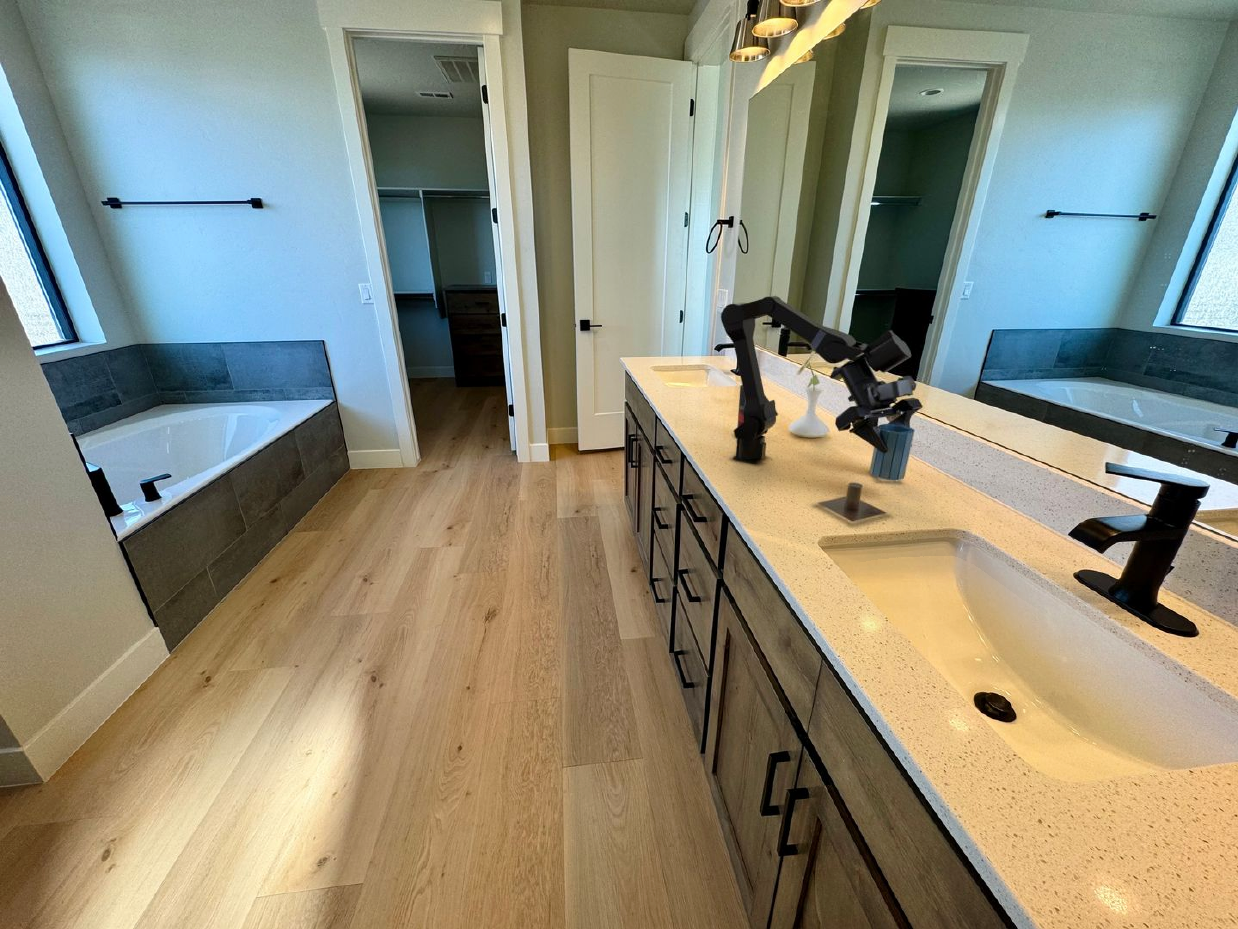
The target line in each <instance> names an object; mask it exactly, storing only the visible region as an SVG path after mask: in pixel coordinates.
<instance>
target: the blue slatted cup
mask: <svg viewBox="0 0 1238 929" xmlns="http://www.w3.org/2000/svg"><path fill="white" fill-rule="evenodd" d="M878 428H879V430H880V432H881V434H882V436H883V438H884V441H885V443H886V445H887V448H888V452H886V453H882V452H881V451H879V450H878V449H876V448H875V447H874V446H873V451H872V456H871V462H870V467H869V473H870V475H871V476H873V477H875V478H877V477H878V478H877V479H879V478H881V479H880V480H888V479H889V480H888V481H892V480H898V481H901V480H904V479H905V477H906V473H907V467H908V463H909V459H910V454H911V450H912V447H913V441H914V437H915V429H914V428H913V427H911V426H910V427H907V426H903V425H898V424H895V425H894V424H888V423H882V424H878ZM911 446H912V447H911Z"/></svg>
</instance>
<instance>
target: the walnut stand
mask: <svg viewBox="0 0 1238 929" xmlns="http://www.w3.org/2000/svg"><path fill="white" fill-rule="evenodd" d="M862 492H863V484H861V483H859V482H849V483H848V484H847V489H846V495H845V496H842V497H837V498H833V499H829V500H825V501H820V502H817V504H818V505H820V506H822V507H824V508H826V509H828V510H830V511H832V512H834V514H837V515H839V516H841V517H843V518H845V519H847V520H848V521H850V522H852V523H853V522H857V521H861V520H865V519H869V518H873V517H877V516H880V515H885V514H887V512H886V511H884V510H882V509H880V508H878V507H876V506H873V505H872V504H869V503H867V502H866V501H863V500H861V498H862Z"/></svg>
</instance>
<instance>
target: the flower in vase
mask: <svg viewBox="0 0 1238 929" xmlns="http://www.w3.org/2000/svg"><path fill="white" fill-rule="evenodd" d="M815 354H816V351H815V350H812V351H811V353H810V354H809V355H808V356H807V358H806V360H805V361H804V363H802V365H801V367H800V368H799V369H798V371H797V372H796V376H800V375H801V374H802V373H803V372H804V371H805V369H806V368H809V369H810V372H811V375H812V377H811V378H810V379H809V383H808V385H807V386H806V387H805V388H804V391H805V393H806V395H807V408H806V412H805V413H804V414H803V415H802V416H800V417H799V418H797V419H796V420H794V421H793V422H791V423H789V426H788V430H789V432H790V433H792V434H794V435H796V436H799V437H804V438H820V437H822V438H823V437H825V436H828V434H829V433H830V428H829V426H828V425H827V424H826V423H825V422H824V421H823V420H822V419H820V418H819V416H818V415H817V413H816V409H817V408H816V407H817V403H818V399H819V397H820V395H821V394H822V392H823V391H824V389H823V388H821V387H816V386H817V385H819V384H820V380H819V378H818V375H817V374H815V373H814V371H813V368H812V365H811V360H812V359H813V357H814V356H815ZM812 385H813V386H812Z"/></svg>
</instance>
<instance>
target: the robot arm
mask: <svg viewBox="0 0 1238 929" xmlns="http://www.w3.org/2000/svg"><path fill="white" fill-rule="evenodd" d="M766 316H768V317H769V318H771V319H773V320H774V321H776V322H777V323H779V324H780V325H782V326H783V327H784V328H786V329H788V330H790V331H791V332H792V333H794V334H796V335H797V336H799V337H800V338H802V339H803V340H805V341H806V342H808V344H809V345H810V346H811V347H812V349H813V351H815V353H816V354H817V355H819V357H821V359H823V361H824V362H826V363H829V364H832V365H835V364H839V363H842V362H845V361H847V360H848V361H847V362H845V363H844V364H842V365H840V366H833V370H832V372H831V373H830V375H829V378H830V379H831V380H837V381H840V380H843V382H844V384H845V387H846V389H847V390H848V392H849V394H850V395H849V396H848V397H847V400H848V401H849V403H852V402H854V404H855V405H852V406H849V407H848V408H846V409H845V410H844V411H843V412H842V413H840V414H839V415H838V416H836V417H835V420H834V424H835V427H836V429H837V431H838V432H843V431H844V432H845V431H848V433H850V434H854V435H855V436H857V437H858V438H860V439H862V440H864V441H865V442H867V444H869V445H871V446H872V447H873V448H874V447H875V448H876V449H878V450H879V451H881V452H882V453H886V452H888V448H887V445H886V443H885V441H884V438H883V436H882V434H881V432H880V430H879V428H878V426H879V419H881V418H885V419H886V420H887V421H888V423H887V424H894V425H895V424H898V425H903V426H907V427H910V428H911V419H912V416H913V415H915V414H916V412H918V411H920V410H922V409H923V408H924V407H923V406H924V405H923V404H922V402H921V401H920V399H919V398H916V397H911V396H913V395H914V392H915V390H916V388H917V383H916V382H915V380H914V379H913V377H912V376H911V375H905V376H902V377H898V378H897V380H893V381H890V382H886V381H884V380H880V381H879V380H878V379H877V377H876V375H875V373H874V372H876V373H877V372H881V373H883V374H884V373H887V372H888V371H890V370H892V369H893V368H895V367H896V366H898V365H900V364H901V363H903V362H905V361H907V360H908V359H910V358H911V357H912V353H911V349H910V348H909V346H908V345H907V343H906V342H905V341H904V340H902V339H901V338H900V337H899V336H898V335H896V334H895V333H894V332H893V330H892V329H891V330H887V331H886V332H884V333H882V335H881V336H880V337H879V338H877V339H876V340H874V341H872V342H871V343H869V344H867V343H863V342H859V341H858V340H857V341H856V339H855V338H854V337H853V336H852V335H850V334H848V333H846V332H844V331H840V330H838V329H834V328H831V327H828V326H825V325H822V324H821V323H819V322H817V321H816V320H814V319H812V318H811V317H809V316H807V315H806V314H804V312H801V311H800V310H798V309H797V308H795V307H793V306H792V305H791V304H788V303H787V302H786V301H784V300H782V299H781V298H780V297H779V296H778V295H769V296H768V295H767V296H765V297H763V298H759V299H758V300H754V301H750V302H735V303H728V304H727V305H726V306H725V307H724V308H723V310H722V311H721V313H720V320H721V324H722V326H723V329H724V331H725V333H726V335H727V336H728V338H729V339H730V341H731V342H732V344H733V348H734V352H735V356H736V361H737V366H738V367H737V368H738V372H739V376H740V380H741V381H740V382H741V385H742V386H743V390H744V395H745V404H744V410H743V422H744V423H742V424H741V425H740V426H738V427H737V426H736V428H734V429H733V434H734V438H735V439H736V446H735V455H734V456H733V457H732V459H733V460H736V461H741V462H744V463H750V464H754V465H756V464H757V465H758V464H759V463H760V462H761V461H763V460H764V459H766V450H767V442H766V436H765V435H766V434H768V432H769V429H771V428H772V427H774V425H775V424H776V422H777V417H778V416H779V414H778V412H777V409H776V408H777V407H776V401H775V399H772V400H769V399H768V396H766V394H765V389H764V385H763V380H762V374H761V372H760V365H759V360H758V356H757V351H756V346H755V340H754V334H755V331H756V330H755V329H756V319H760V318H763V317H766ZM856 358H857V359H856ZM849 359H850V360H849ZM853 359H855V360H853ZM873 371H874V372H873ZM906 396H907V397H908V398H902V399H900V400H898V398H901V397H906ZM851 427H852V428H851ZM912 447H913V445H912V446H911V448H912Z"/></svg>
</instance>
